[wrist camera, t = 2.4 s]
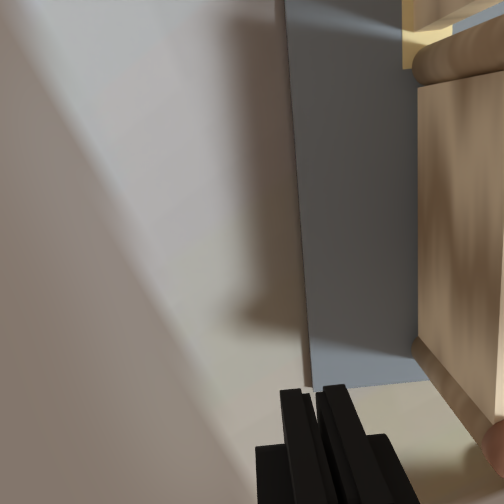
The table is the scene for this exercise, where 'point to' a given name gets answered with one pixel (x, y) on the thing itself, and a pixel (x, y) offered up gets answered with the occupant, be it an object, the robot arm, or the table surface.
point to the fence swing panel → (463, 228)
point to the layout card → (359, 182)
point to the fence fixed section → (445, 12)
